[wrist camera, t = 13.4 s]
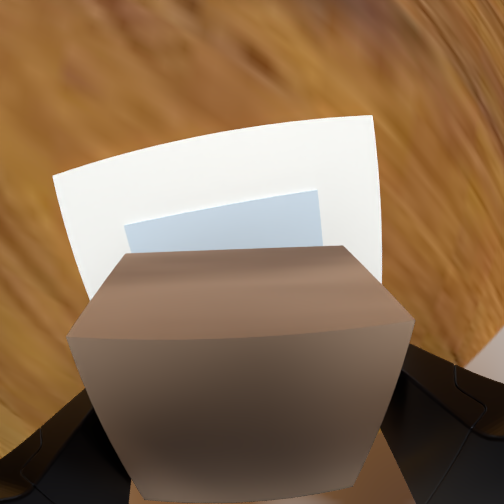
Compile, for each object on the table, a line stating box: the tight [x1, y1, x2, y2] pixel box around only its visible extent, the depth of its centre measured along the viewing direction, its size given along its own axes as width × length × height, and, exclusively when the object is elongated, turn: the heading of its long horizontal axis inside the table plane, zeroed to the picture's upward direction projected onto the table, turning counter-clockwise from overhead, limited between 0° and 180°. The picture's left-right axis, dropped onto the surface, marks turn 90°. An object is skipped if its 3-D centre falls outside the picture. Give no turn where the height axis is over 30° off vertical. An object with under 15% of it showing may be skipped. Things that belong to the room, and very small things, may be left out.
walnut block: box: [66, 245, 415, 503], centre depth 8 cm, size 6×6×4 cm
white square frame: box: [53, 115, 382, 301], centre depth 13 cm, size 12×12×1 cm
